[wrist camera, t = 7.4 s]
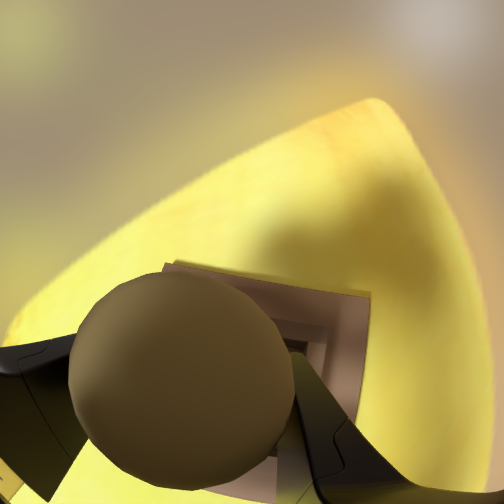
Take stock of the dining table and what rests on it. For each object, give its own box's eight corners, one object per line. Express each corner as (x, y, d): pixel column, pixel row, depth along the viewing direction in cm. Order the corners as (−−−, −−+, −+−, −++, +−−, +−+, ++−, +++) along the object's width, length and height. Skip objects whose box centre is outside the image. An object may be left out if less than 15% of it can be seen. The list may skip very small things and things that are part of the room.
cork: (168, 351, 15) (38, 261, 5) (269, 330, 15) (273, 198, 6) (189, 448, 12) (57, 506, 2) (296, 428, 12) (367, 492, 3)
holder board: (327, 503, 13) (339, 522, 10) (114, 449, 16) (89, 454, 12) (365, 302, 22) (382, 283, 18) (168, 267, 24) (153, 244, 21)
